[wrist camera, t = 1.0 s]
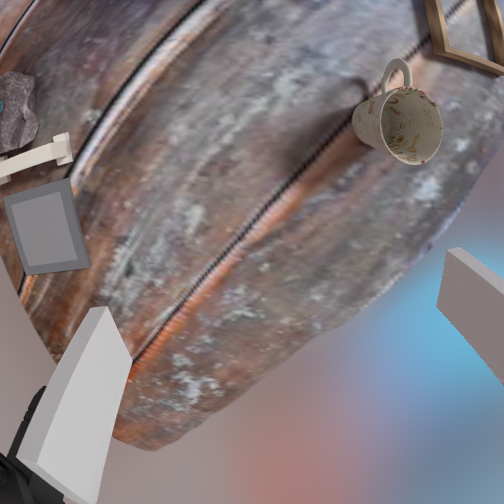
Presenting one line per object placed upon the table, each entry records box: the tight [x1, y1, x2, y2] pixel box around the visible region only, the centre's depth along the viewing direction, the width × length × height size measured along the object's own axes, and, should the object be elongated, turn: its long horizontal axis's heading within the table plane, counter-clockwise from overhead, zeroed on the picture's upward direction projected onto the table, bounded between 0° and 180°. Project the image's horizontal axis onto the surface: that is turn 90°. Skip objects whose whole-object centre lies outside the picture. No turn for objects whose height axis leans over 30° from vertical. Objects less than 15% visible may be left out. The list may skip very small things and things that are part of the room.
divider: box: [0, 132, 73, 185], centre depth 30 cm, size 4×14×5 cm, turn 95°
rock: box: [0, 71, 40, 153], centre depth 26 cm, size 8×11×5 cm
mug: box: [352, 58, 443, 165], centre depth 29 cm, size 8×13×10 cm, turn 177°
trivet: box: [3, 178, 91, 275], centre depth 36 cm, size 13×13×1 cm
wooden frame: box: [423, 0, 504, 76], centre depth 26 cm, size 17×17×3 cm
